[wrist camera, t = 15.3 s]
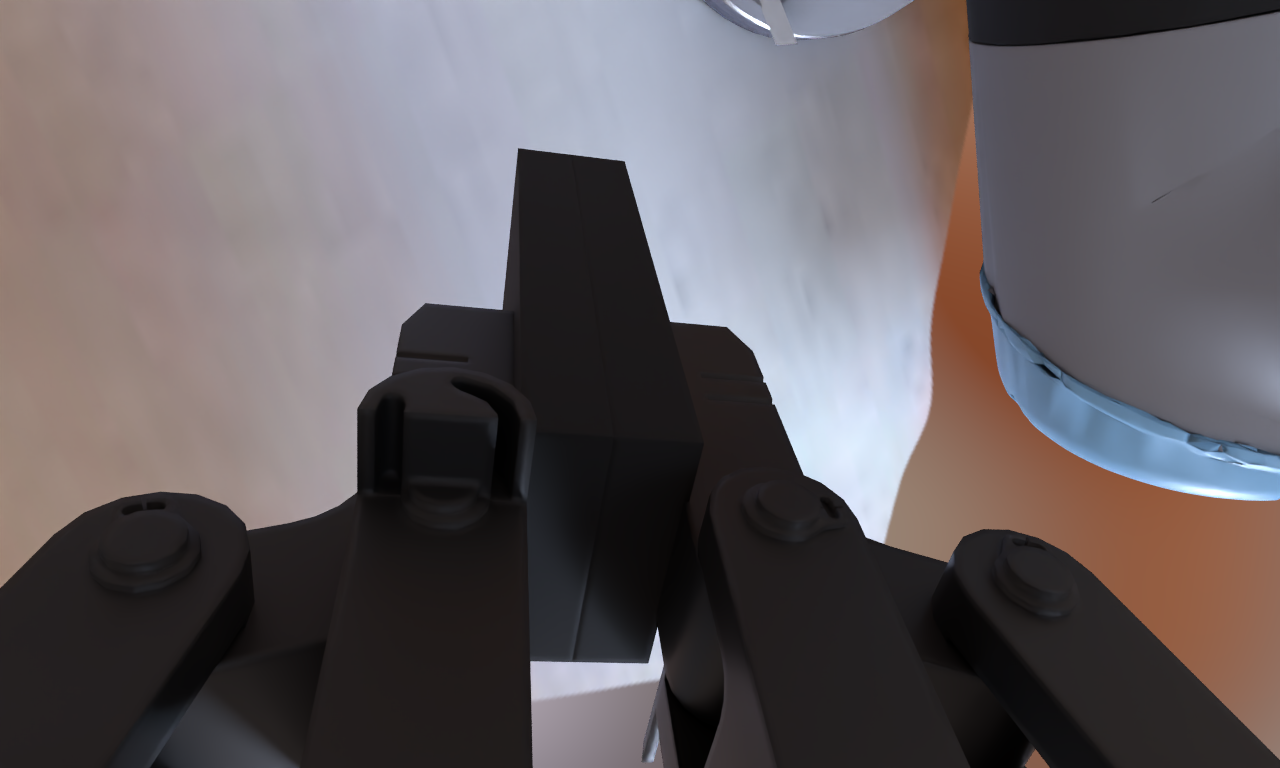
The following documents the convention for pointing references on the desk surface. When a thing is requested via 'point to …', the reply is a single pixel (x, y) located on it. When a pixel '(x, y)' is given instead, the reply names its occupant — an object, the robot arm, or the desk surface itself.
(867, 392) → the desk surface
